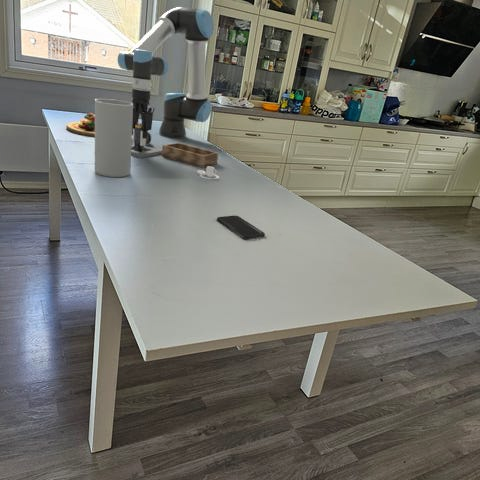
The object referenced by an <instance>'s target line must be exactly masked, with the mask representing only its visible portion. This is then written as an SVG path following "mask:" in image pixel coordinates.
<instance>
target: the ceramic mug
mask: <svg viewBox="0 0 480 480" xmlns="http://www.w3.org/2000/svg"><path fill="white" fill-rule="evenodd" d="M151 142H152V134H151V131H150V130H148V131H147V138H146V144H145V145H144V146H147V147H148V146H149V145H150V144H151ZM132 144H133V138H132Z"/></svg>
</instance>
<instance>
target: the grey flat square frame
mask: <svg viewBox="0 0 480 480" xmlns="http://www.w3.org/2000/svg"><path fill="white" fill-rule="evenodd" d="M159 155H162V150H161V149H158V148H153V147H150V146H148V145H147V146H144V148H143V152H138V151H134V144H133V143H132V146H131V157H132V156H133V157H135V158H139V159H142V158H143V159H144V158H148V157H154V156H159Z"/></svg>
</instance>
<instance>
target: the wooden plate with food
mask: <svg viewBox="0 0 480 480" xmlns="http://www.w3.org/2000/svg"><path fill="white" fill-rule="evenodd" d="M66 129H67V131H70V132H71V133H73V134H77V135H82V136H87V137H92V138H93V137H94V138H95V113H93V112H89V113H87V114H85V116H84V117H83V118H81V119H80V121H74V122H73V121H72V122H69V123H67V124H66Z"/></svg>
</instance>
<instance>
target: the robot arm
mask: <svg viewBox="0 0 480 480" xmlns="http://www.w3.org/2000/svg"><path fill="white" fill-rule="evenodd" d="M214 25H215V24H214V20H213V16H212V14H211V13H210V11H208V10H206V9H203V8H195V7H194V8H193V7H185V6H178V7H174V8H172V9H170V10H168V11H166V12H165V13H164V14H162V15H161V16H160V17H159V18H158V19H157V21H156V24H155V25H154V26H153V27H152V28H151V29H150V30H149V31H148V32H146V34H145V35H144V36H143V37H142V38H141V39H140V40H139V41H137V43H136V44H135V45H134V46H133V47H132V48H131V49H130V50H129V51H126V50H125V51H119V53H118V55H117V64H118V66H119V68H120V69H122V70H126V71H129V72H133V73H132V88H133V89H132V91H131V97H132V101H130V103H132V104H133V120H132V139H133V143H132V144H135V124H138V123H139V119H140V118H141V119H140V120H141V123H142V130H141V137H140V146H144V145H145V144H146V138H147V131H151V130H152V127H153V126H152V125H153V116H154V111H155V107H152V106H151V105H150V100H151V91H150V90H151V89H152V87H151V85H152V76H158V77H159V76H165V75H166V74H167V73H168V72H169V63H168V61H167V59H166V58H164V57H161V56H153V54H154V53H155V52H156V51H157V50H158V48H160V46H161V45H162V44H163V43H164V42H165V41H166V40H167V39H169V38H172V37H174V36H175V34H182V35H184V37H185V38H184V40H185V41H186V42H187V43H188V45H187V46H188V48H187V50H188V52H187V54H188V62H187V63H188V92H186V93H187V94H186V93H184V92H183V93H182V92H180V93H179V92H177V93H176V92H172V93H171V92H167V93H166V94H165V95H164V100H163V120H162V122H161V125H160V128H159V132H158V134H159V135H160V136H163V137H167V138H173V139H174V138H175V139H184V138H186V137H187V132H186V126H185V120H189V121H192V122H196V123H205V122H207V120H209V118H210V115H211V113H212V102H211V101H210V100H208V97H209V96H208V94H207V93H206V92H205V91H206V45H207V43H208V42H209V39H210V38H211V37H212V36H213V32H214V29H215V28H214Z"/></svg>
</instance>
